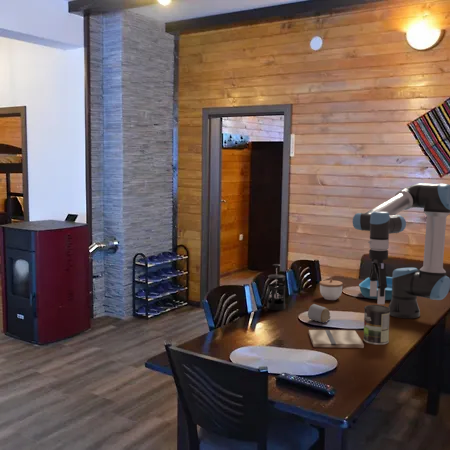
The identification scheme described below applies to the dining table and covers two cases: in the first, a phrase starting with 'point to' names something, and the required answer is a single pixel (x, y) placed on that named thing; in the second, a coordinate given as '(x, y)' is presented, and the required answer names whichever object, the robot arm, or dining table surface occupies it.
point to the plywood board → (335, 338)
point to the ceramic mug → (318, 313)
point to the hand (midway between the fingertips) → (376, 300)
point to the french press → (280, 296)
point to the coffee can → (376, 324)
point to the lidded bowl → (331, 289)
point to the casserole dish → (366, 289)
